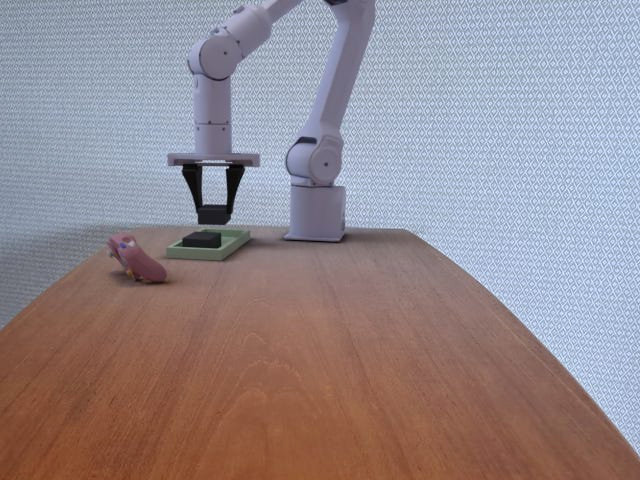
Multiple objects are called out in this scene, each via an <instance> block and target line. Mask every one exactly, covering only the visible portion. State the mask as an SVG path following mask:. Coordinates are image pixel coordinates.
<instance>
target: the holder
mask: <svg viewBox="0 0 640 480" xmlns="http://www.w3.org/2000/svg"><path fill="white" fill-rule="evenodd" d="M194 232H217V233H221V244H222V246H221V247H220V248H218V249H212V248H191V247H182V238H181V239H179V240H177V241H175V242H173V243H171V244H169V245H168V246H166V247H165V251H166V259H182V260H199V261H200V260H202V261H217V262H218V261H223V260H224V259H225V258H227V257H228V256H230V255H231V254H232V253H234V252H235V251H236V250H238V249H239V248H240V247H242V246H243V245H244V244H246V243H248V242H249V241H251V230H250V229H240V228H220V227H219V228H218V227H217V228H215V227H201V228H199V229H197V230H196V231H194Z"/></svg>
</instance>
